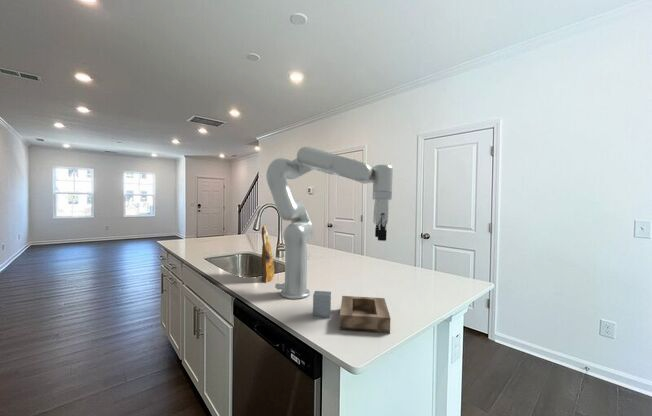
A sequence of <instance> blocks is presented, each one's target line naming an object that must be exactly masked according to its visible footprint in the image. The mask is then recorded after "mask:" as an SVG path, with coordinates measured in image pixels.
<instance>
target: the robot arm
mask: <svg viewBox="0 0 652 416" xmlns="http://www.w3.org/2000/svg"><path fill="white" fill-rule="evenodd" d="M393 169H394V168H393V166H392V165H389V164H376V165H375V166H370V165H369V164H368V163H365V162H362V161H359V160H356V159H352V158H349V157H344V156H341V155H339V154H335V153H332V152H328V151H325V150H320V149H318V148H315V147H311V146H302V147H300V148H299V149H298V151H297V153H296V158H295V159H292V160H291V159H288V158H286V157H285V158H284V157H278V158H276V159H274V160H272V161H271V162H270V164H269V165H268V167H267V170H266V181H267V182H266V183H267V185H268V187H269V190H270V193H271V195H272V199H273V202H274V204H275V207H276V210H277V213H278V215H279V217H280V218H281V219H282V220H283V221H285V222H286V221H287V222H290V224H288V225H287V226H286V227H285V229H284V232H283V240H284V242H283V243H284V282H283V283H275V286H274V288H275V289H276V290H281V292H280V296H282V297H283V298H286V299H290V300H291V299H292V300H294V299H295V300H298V299H304V298H307V297H309V296H310V295H311V291H310V289H308V288H307V285H308V284H307V276H308V275H307V274H308V271H307V270H308V269H307V268H308V249H307V242H308V241H309V240H311V238H312V237H313V235H314V225H313V224H312V221H311V217H310V216H309V213H308V211H307V208H306V206H305V204H304V203H303V201H301V200H300V199H295V197H294V195H293V193H292V190H291V186H290V185H289V184H288V182H287V180H294V179H295V180H296V179H297V178H300V177H302V176H304V175H306V174H308V173H309V172H311V171H314V170H315V171H318V172H322V173H325V174H329V175H335V176H339V177H343V178H346V179H349V180H352V181H355V182H358V183H359V184H365V185H366V184H372V200H374V205H373V217H372V218H373V219H372V221H373V222H372V223H373V224H374V225H375V229H374V231H375V233H374V236H375V237H376V238H377V241H381V242H386V241H387V225H388V224H389V223H388V222H389V208H390V207H389V206H390V205H389V203H390V201H392V199H393V176H394V175H393V173H394V171H393Z"/></svg>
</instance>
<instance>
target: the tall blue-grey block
mask: <svg viewBox="0 0 652 416" xmlns="http://www.w3.org/2000/svg"><path fill="white" fill-rule="evenodd" d="M331 308H332V291H327V290H326V291H324V290H315V291H314V292H313V296H312V317H313V318H323V319H330V317H331V311H332V309H331Z"/></svg>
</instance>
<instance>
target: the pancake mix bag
mask: <svg viewBox="0 0 652 416" xmlns="http://www.w3.org/2000/svg"><path fill="white" fill-rule="evenodd" d="M261 239H262V247H261V248H262V249H261V260H260V261H261V267H260V268H261V270H260V271H261V282H263V283H267V282H271V281H272V280H273V278H274V276H275V265H274V258H273V257H274V256H273V251H272V246H271V241H270V236H269V233H268V230H267V227H266V223H265V224H264V225H263V226H262V227H261Z"/></svg>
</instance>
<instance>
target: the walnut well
mask: <svg viewBox="0 0 652 416" xmlns="http://www.w3.org/2000/svg"><path fill="white" fill-rule="evenodd" d="M339 310H340V311H339V331H345V332H346V331H348V332H349V331H350V332H362V333H374V334H376V333H377V334H378V333H379V334H389V335H390V334H391V315H390V312H389V309H388V305H387V302H386V298H385V297H371V296H370V297H368V296H353V295H342V296H341V304H340V309H339Z"/></svg>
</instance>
